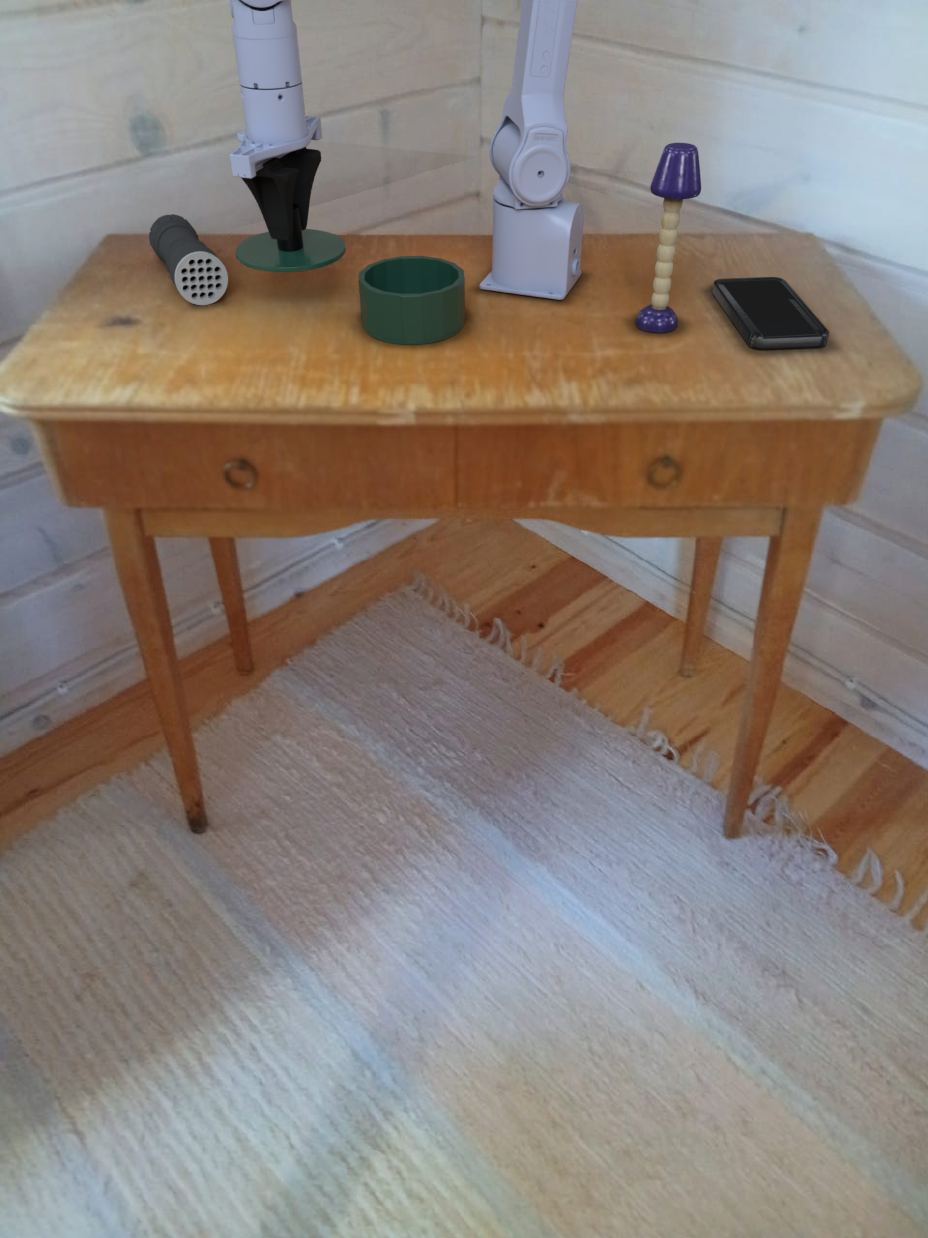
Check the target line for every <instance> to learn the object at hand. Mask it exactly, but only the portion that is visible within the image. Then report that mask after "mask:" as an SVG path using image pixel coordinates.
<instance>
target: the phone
mask: <svg viewBox="0 0 928 1238" xmlns="http://www.w3.org/2000/svg"><path fill="white" fill-rule="evenodd" d="M711 292H712V295H713V296H714V297H715V299H716V300H717V302H718V303H719V305H720V307H721V308H722V309H723V311H724V312H725V314H726V315H727V316H728V318H729V320H730V321H731V323H732V324H733V325H734V327H735V328H736V330H737V331H738V332H739V334H740V335H741V337H742V338H743V339H744V341H745V343H746V345H748V347H750V348H752V349H755V350H784V349H785V350H786V349H808V348H823V347H826V346H827V344H828V340H829V336H830V331H829V329H827V327H826V326H825V325H824V323H823V322H822V321H821V320H820V319H819V318H818V316H816V314H815V313H814V312H813V311H812V309H811V308H810V307H809V305H807V304H806V303H805V301H804V300H803V299H802V298H801V297H800V296H799V294H798V293H797V292H796V291H795V290H794V289H793V287H792V286H791V285H790V284H789V283H788V281H786V279H784V278H781V277H777V276H760V277H759V276H758V277H757V276H756V277H732V278H727V277H726V278H717V279H715V280H714V281H713V285H712V291H711Z"/></svg>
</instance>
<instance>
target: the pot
mask: <svg viewBox="0 0 928 1238" xmlns="http://www.w3.org/2000/svg"><path fill="white" fill-rule="evenodd" d="M465 276H466V275H465V270H464V269H463V268H462V267H460V266H459V265H458V264H457V263H455V262H452V261H450V260H446V259H444V258H440V257H434V256H426V255H400V256H396V257H395V256H394V257H389V258H383V259H379V260H378V261H375V262H372V263H370V264H368V265H366V266H365V267H364V268H363V269H362V270H361V271H359V273H358V293H359V304H360V316H361V317H360V318H361V325H362V328H363V331H365V333H366V334H368V335H369V336H370V337H372V338H374V339H376V340H379V341H382V342H385V343H390V344H396V345H405V346H406V345H408V346H412V345H413V346H416V345H417V346H418V345H428V344H433V343H438V342H440V341H445V340H447V339H450V338H452V337H454V336H456V335H457V334H458V333H460V332H461V331H462V329H463V328H464V326H465V322H466V281H465V280H466V278H465Z"/></svg>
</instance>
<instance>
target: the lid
mask: <svg viewBox="0 0 928 1238" xmlns="http://www.w3.org/2000/svg"><path fill="white" fill-rule="evenodd" d="M346 245H347V244H346V242H345V241H344V239H343V238H342V237H340V236H339V235H337V234H334V233H331V232H329V231H325V230H319V229H312V228H306V229H305V230H302V229H301V220H300V211H299V206H298V205H297V204H294V203H293V235H292V239H291V240H289V241H286V240H278V239H272V238H271V236H270V233H269V231H265V232H261V233H257V234H255V235H252V236H250V237H248V238H246V239H244V240H242V241H240V243H239V244H238V245H237V246H236V248H235V258H236V259H237V261H238V262H239V263H240V264H241V265H243V266H244V267H247V268H249V269H251V270H252V269H253V270H255V271H262V272H268V273H286V274H287V273H301V272H307V271H312V270H317V269H321V268H325V267H328V266H329V265H332V264H334V263H336V262H338V261H339V260H341V259H342V258H343V257H344V256H345V254H346V250H347V248H346Z"/></svg>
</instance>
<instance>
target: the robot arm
mask: <svg viewBox="0 0 928 1238" xmlns="http://www.w3.org/2000/svg"><path fill="white" fill-rule="evenodd" d="M577 7H578V0H521V5H520V15H519V21H518V22H519V23H518V31H517V33H518V34H517V40H516V49H515V56H514V57H515V58H514V64H513V65H514V66H513V74H512V82H511V89H510V91H509V92H508V95H507V96H506V98H505V100H504V103H503V107H502V113H501V119H500V122H499V125H498V126H497V128H496V129H495V131H494V133H493V134H492V137H491V140H490V144H489V159H490V163H491V165H492V167H493V170H494V171H495V172H496V173H497V174H498V175H499V176H498V177H499V178H498V180H497V182H496V183H497V184H496V185H495V187H494V189H493V192H492V196H493V197H492V243H491V244H492V248H491V250H492V251H491V254H492V255H491V271H490V272H489V273H488V274H487V275H486V277H484V279H482V281H481V282H480V283H479V289H480V290H485V291H493V292H497V293H498V292H500V293H506V294H514V295H520V296H529V297H534V298H535V297H536V298H544V299H549V300H550V299H551V300H558V301H562V300H564V299H565V298H566V297H567V295H568V294H569V293H570V291H571V289H572V288H573V287H574V286H575V284H576V282H578V280H579V278H580V277H581V276H582V270H581V265H582V263H581V262H582V252H583V251H582V250H583V238H584V237H583V236H584V223H585V213H584V205H582V203H579V202H575V201H570V200H568V199H566V198H565V197H563V192H565V191H564V190H566V188H567V186H568V184H569V180H570V178H571V160H570V157H569V154H568V151H567V150H568V149H567V136H568V132H569V131H568V130H569V129H568V128H569V127H568V120H567V115H566V109H565V104H564V92H565V88H566V87H565V86H566V81H567V75H568V74H567V73H568V66H569V61H570V54H571V47H572V39H573V34H574V27H575V19H576V12H577ZM229 9H230V10H229V11H230V15H231V18H232V19H233V23H232V26H231V32H232V40H233V47H234V55H235V61H236V69H237V75H238V83H239V90H240V95H241V96H240V98H241V103H242V110H243V118H244V125H245V129H242V130H240V131H239V132H237V133H236V138H237V141H238V142H240V143H239V145H238V146H237V148H236V149H235V150H234V151H232V152H231V153H229V161H230V162H229V163H230V168H231V174H232V177H233V178H240V179H241V180H242V181H243V182H244V184H245V185H246V187H247V188H248V189H249V191H250V193H251V195H252V196H253V198H254V200H255V202H256V204H257V206H258V208H259V210H260V213H261V215H262V217H263V220H264V223H265V226H266V228H267V232H269V233H270V236H271V238H272V239H278V240H286V241H289V240H291V239H292V235H293V203H294V204H297V205H298V206H299V211H300V220H301V229H302V230H305V229H307V227H308V220H309V211H310V203H311V196H312V190H313V185H314V182H315V178H316V174H317V172H318V169H319V167H320V164H321V162H322V152H321V151H320V150H319V149H315V148H307V147H308V146H309V145H310V144H311V141H320V140H321V139H323V131H322V130H323V129H322V121H321V120H322V119H321V116H320V117H318V116H308V115H306V107H305V105H306V104H305V97H304V96H305V95H304V85H303V79H302V78H303V77H302V69H301V68H302V67H301V58H300V49H299V40H298V29H297V28H298V27H297V24H296V22H294V19H293V18H294V17H293V9H292V0H229Z"/></svg>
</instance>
